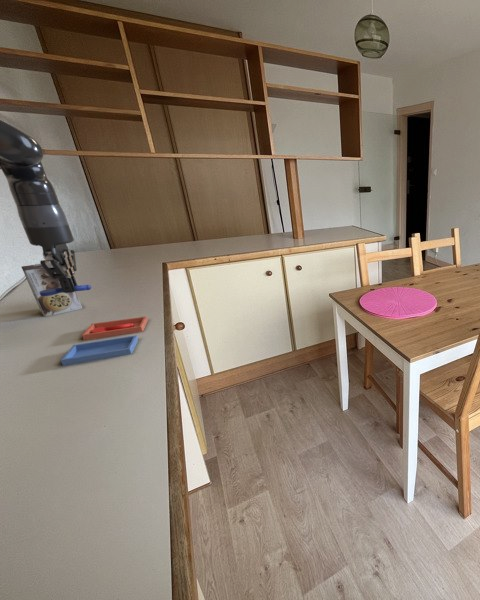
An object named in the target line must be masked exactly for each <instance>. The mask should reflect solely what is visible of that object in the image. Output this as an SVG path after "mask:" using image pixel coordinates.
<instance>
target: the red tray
mask: <svg viewBox="0 0 480 600" xmlns="http://www.w3.org/2000/svg"><path fill="white" fill-rule="evenodd" d="M148 322H149V320H148V317H147V316H139V317H129V318H123V319H116V320H108V321H102V322H93V323H91V324H90V325H89V327H87V329H86V330H84V332H83V333H82V334H81V337H82V340H83V341H88V340H94V339H102V338H108V337H115V336H122V335H128V334H134V333H135V334H136V333H141V332H142V333H143V331H144V329H145V328H146V325H147V323H148ZM130 323H132V324H134V327H131V328H124V329H117V330H110V331H103V332H97V333H91V331H92V330H93V329H96V328H99V327H108V326H115V325H123V324H130Z"/></svg>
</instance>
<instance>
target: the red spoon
mask: <svg viewBox="0 0 480 600" xmlns="http://www.w3.org/2000/svg"><path fill="white" fill-rule="evenodd" d="M131 327H134V324H132V323H130V324H123V325H115V326H108V327H99V328H96V329H93V330H92V331H91V333H97V332H103V331H110V330H117V329H124V328H131Z"/></svg>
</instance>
